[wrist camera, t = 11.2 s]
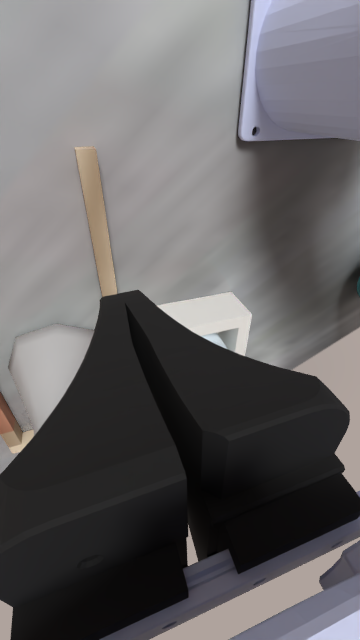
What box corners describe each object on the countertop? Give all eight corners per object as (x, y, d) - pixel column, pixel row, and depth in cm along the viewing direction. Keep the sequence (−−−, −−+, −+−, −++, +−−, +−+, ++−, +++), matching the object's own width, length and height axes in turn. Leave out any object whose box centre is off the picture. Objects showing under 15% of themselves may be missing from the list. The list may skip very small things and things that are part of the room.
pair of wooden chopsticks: (93, 146, 16) (95, 149, 15) (133, 409, 30) (135, 419, 29) (-159, 156, 13) (-174, 160, 12) (14, 441, 27) (12, 453, 26)
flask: (-2, 325, 20) (-36, 462, 13) (107, 317, 23) (132, 429, 15) (16, 396, 24) (-1, 532, 17) (107, 383, 27) (127, 497, 19)
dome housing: (231, 291, 25) (252, 314, 22) (223, 359, 30) (239, 385, 27) (138, 308, 23) (148, 336, 20) (145, 378, 28) (154, 408, 25)
